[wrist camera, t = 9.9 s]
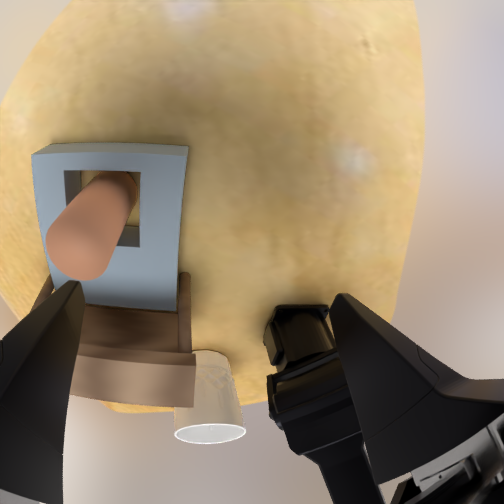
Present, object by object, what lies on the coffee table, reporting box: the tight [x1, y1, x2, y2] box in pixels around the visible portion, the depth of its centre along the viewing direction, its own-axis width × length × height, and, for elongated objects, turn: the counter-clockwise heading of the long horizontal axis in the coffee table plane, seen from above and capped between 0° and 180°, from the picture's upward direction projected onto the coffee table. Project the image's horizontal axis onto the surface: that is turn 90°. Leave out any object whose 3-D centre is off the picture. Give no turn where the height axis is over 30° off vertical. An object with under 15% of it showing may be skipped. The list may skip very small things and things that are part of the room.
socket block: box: [31, 143, 189, 311], centre depth 19 cm, size 11×13×3 cm
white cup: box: [174, 350, 246, 444], centre depth 28 cm, size 8×8×10 cm
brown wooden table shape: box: [30, 272, 196, 408], centre depth 20 cm, size 14×7×10 cm, turn 79°
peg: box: [45, 171, 137, 281], centre depth 15 cm, size 4×4×8 cm
